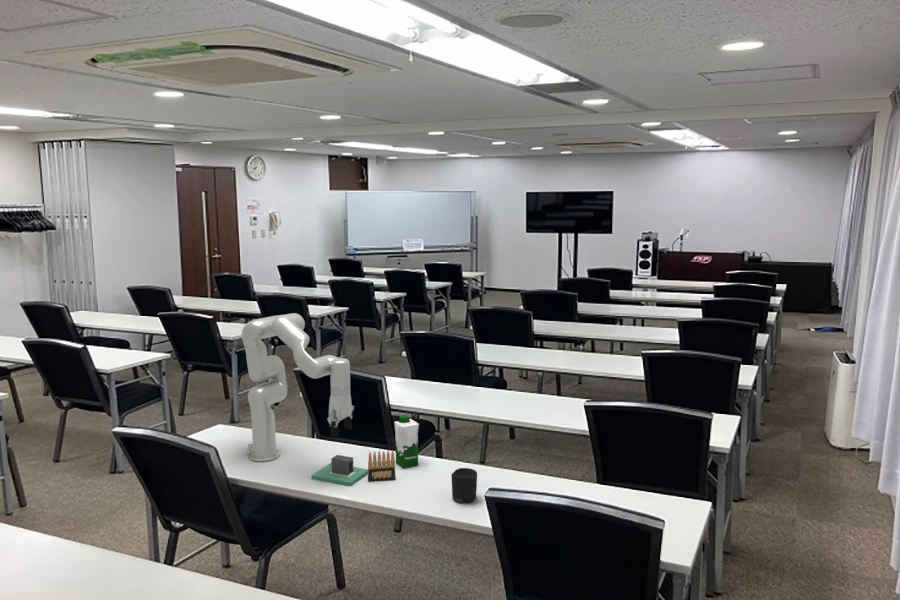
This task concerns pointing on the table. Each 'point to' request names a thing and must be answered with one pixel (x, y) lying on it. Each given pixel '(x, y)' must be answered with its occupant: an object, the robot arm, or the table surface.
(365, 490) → the table surface
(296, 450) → the table surface
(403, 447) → the milk carton
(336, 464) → the block
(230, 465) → the table surface
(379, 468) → the ammunition clip
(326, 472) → the header board
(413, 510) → the table surface
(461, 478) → the pen holder
